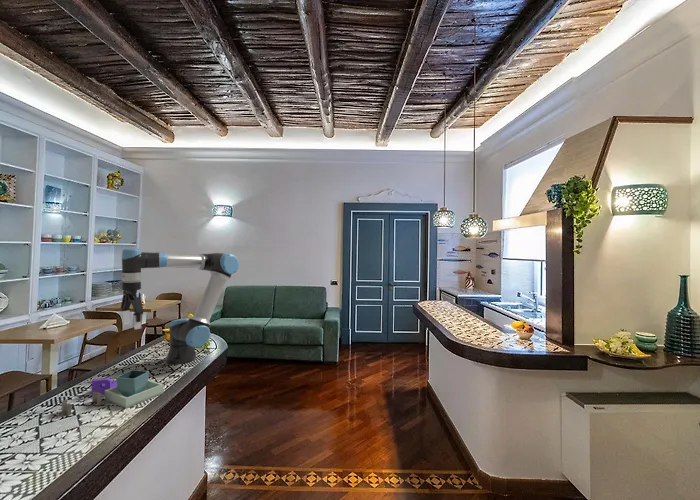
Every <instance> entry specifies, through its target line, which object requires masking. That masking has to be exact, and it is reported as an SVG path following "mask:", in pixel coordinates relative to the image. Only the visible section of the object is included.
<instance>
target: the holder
mask: <svg viewBox="0 0 700 500" xmlns="http://www.w3.org/2000/svg"><path fill="white" fill-rule="evenodd" d="M91 397H92V403H96V404H97V406H96V407H101V406H102V403H103V400H102V399H103V395H102V393H100V392H96V391H95V392H92V391H91ZM61 415H63V416H65V415H66V416H65V417H69V416H71V415H72V403H68V400H67V399H63V400H62V402H61Z"/></svg>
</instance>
